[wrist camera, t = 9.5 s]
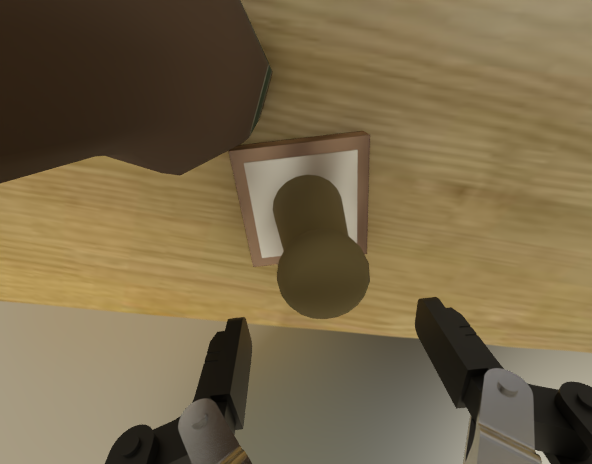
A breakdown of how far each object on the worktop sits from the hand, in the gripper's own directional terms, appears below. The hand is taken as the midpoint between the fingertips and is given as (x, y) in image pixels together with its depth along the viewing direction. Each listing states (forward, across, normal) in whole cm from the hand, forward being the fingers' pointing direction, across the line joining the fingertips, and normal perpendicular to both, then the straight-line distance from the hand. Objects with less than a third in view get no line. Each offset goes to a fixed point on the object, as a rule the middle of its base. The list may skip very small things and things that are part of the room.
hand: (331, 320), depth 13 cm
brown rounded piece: (+13, 0, 0) cm, 13 cm away
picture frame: (+15, 0, 0) cm, 15 cm away
